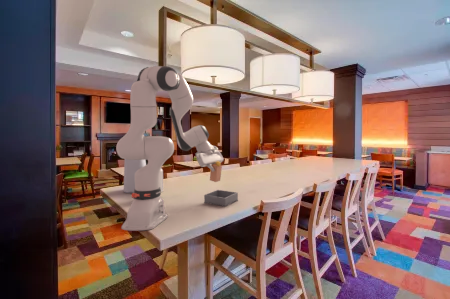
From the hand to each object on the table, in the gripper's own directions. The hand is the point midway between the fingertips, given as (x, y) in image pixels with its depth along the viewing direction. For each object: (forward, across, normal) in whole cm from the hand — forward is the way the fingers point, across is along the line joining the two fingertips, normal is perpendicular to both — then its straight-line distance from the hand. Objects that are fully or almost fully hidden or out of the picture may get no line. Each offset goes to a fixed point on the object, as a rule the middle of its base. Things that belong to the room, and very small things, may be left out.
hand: (217, 170), depth 137 cm
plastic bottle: (-22, -11, +62) cm, 67 cm away
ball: (-3, 0, -3) cm, 4 cm away
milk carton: (-13, -7, +49) cm, 51 cm away
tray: (+17, -1, +8) cm, 19 cm away
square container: (+4, 0, +5) cm, 7 cm away
